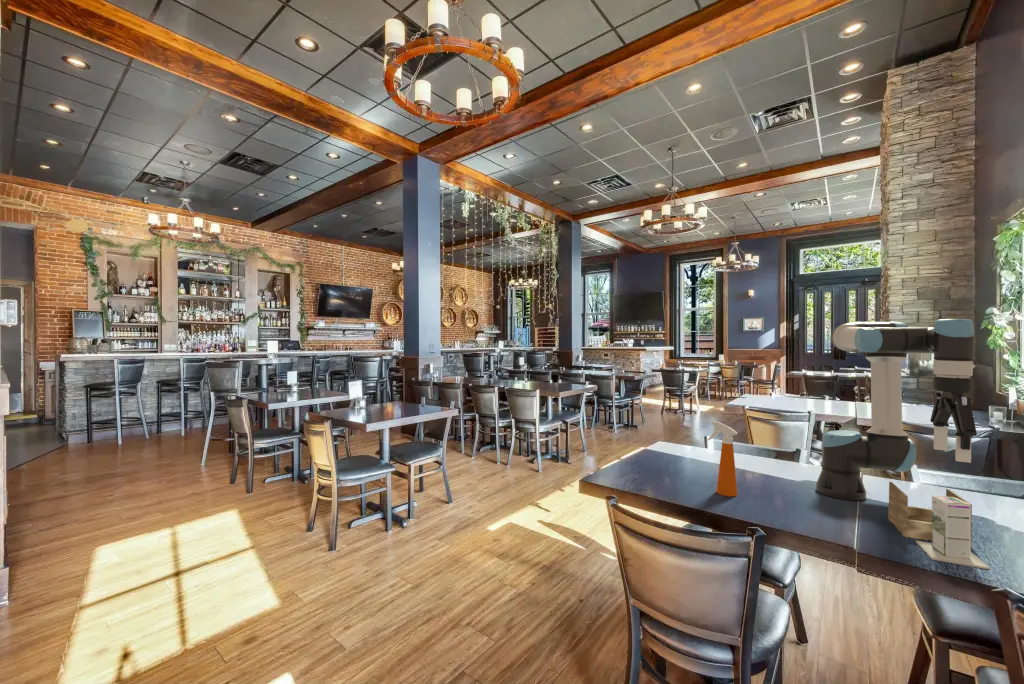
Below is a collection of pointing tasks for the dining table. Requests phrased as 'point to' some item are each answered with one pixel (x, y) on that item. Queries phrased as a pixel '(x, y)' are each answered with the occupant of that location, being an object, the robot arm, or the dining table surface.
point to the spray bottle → (726, 461)
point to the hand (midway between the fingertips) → (951, 455)
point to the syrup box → (951, 526)
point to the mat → (940, 557)
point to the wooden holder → (913, 515)
